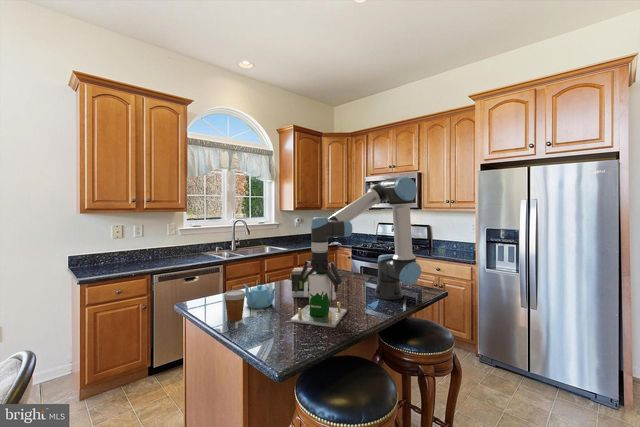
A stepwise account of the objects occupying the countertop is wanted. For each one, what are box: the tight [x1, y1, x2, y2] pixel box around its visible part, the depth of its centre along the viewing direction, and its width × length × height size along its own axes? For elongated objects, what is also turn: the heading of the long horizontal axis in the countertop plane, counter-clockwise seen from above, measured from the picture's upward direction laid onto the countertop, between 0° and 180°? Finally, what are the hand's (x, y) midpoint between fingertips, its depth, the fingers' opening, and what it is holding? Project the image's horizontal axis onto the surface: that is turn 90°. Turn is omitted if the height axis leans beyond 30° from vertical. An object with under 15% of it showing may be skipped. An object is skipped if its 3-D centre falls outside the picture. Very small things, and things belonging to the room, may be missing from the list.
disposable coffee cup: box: [223, 289, 246, 322], centre depth 142 cm, size 10×10×12 cm
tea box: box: [290, 267, 316, 298], centre depth 178 cm, size 15×10×15 cm, turn 84°
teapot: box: [243, 283, 278, 310], centre depth 160 cm, size 15×15×10 cm
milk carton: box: [308, 272, 331, 317], centre depth 145 cm, size 9×9×20 cm
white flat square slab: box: [290, 301, 347, 328], centre depth 145 cm, size 20×20×5 cm
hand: (319, 297), depth 144 cm, fingers open, 13 cm apart
